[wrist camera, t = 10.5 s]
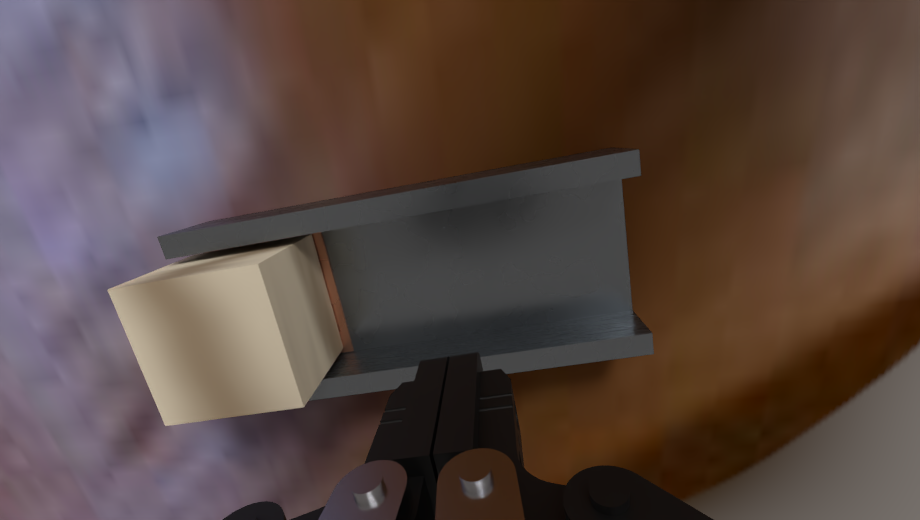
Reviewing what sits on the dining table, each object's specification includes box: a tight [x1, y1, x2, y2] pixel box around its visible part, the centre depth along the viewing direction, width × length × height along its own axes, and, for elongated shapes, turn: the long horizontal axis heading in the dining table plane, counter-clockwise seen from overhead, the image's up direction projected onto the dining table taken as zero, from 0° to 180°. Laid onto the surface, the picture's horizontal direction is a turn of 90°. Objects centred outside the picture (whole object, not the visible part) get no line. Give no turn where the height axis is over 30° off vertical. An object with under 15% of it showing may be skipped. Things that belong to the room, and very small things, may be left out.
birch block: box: [108, 234, 343, 426], centre depth 19 cm, size 6×6×5 cm
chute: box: [158, 148, 654, 401], centre depth 20 cm, size 20×9×4 cm, turn 100°
